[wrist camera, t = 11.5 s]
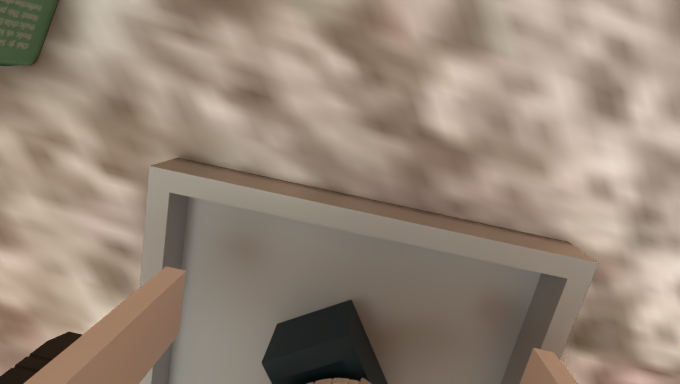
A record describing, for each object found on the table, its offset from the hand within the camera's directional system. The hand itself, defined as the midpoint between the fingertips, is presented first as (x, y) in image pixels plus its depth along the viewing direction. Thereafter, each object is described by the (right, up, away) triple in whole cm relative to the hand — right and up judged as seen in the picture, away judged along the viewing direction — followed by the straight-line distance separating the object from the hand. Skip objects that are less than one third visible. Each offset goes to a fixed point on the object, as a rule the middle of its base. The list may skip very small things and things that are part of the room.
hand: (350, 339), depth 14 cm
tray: (-1, -3, +7) cm, 8 cm away
